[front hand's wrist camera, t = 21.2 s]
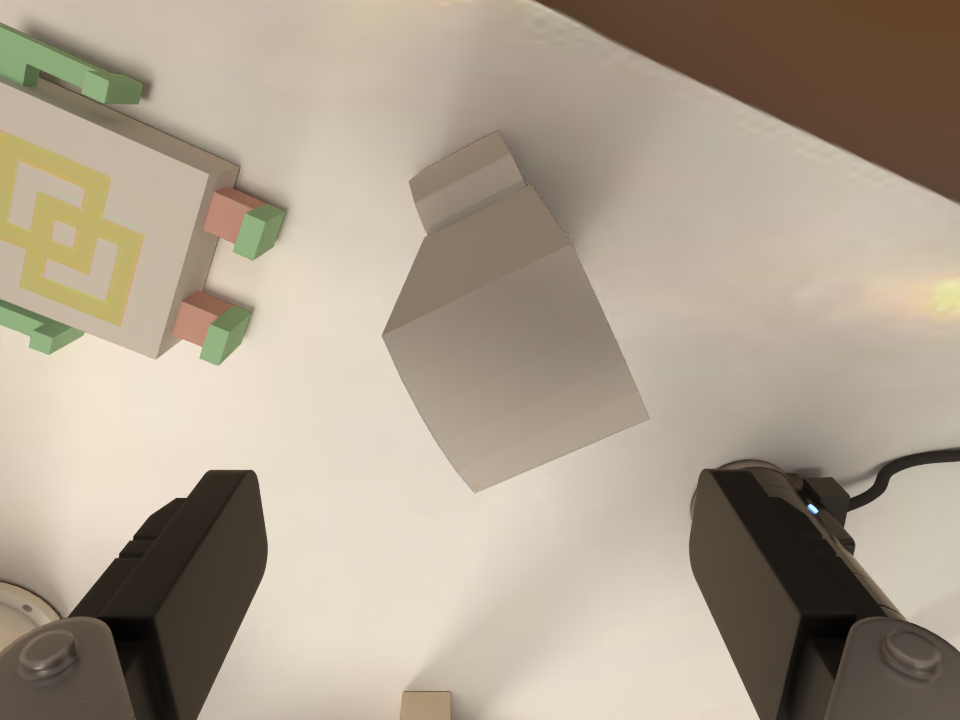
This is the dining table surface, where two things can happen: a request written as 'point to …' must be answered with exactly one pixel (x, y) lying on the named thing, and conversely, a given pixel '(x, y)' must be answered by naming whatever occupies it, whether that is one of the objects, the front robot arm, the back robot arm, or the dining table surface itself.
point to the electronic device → (503, 325)
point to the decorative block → (111, 215)
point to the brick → (426, 706)
